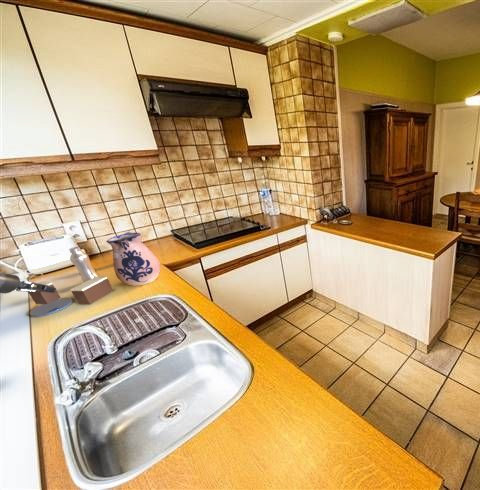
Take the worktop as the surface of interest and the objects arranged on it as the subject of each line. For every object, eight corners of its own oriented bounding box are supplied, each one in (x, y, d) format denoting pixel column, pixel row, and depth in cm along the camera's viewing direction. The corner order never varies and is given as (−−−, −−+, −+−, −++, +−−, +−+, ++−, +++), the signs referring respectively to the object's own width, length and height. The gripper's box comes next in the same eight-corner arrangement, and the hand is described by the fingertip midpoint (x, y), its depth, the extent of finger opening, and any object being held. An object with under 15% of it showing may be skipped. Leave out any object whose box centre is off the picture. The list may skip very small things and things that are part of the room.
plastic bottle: (93, 285, 136) (74, 250, 128) (80, 286, 136) (60, 251, 128) (105, 279, 142) (87, 245, 134) (92, 279, 142) (74, 245, 134)
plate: (26, 321, 111) (25, 319, 110) (35, 307, 120) (33, 305, 120) (70, 308, 118) (69, 306, 118) (75, 296, 127) (74, 294, 127)
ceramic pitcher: (122, 295, 126) (98, 247, 116) (122, 279, 141) (101, 235, 131) (166, 281, 136) (148, 236, 126) (162, 267, 151) (145, 226, 141)
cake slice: (47, 304, 115) (37, 288, 112) (36, 304, 116) (25, 288, 112) (61, 297, 120) (51, 282, 116) (49, 297, 120) (39, 282, 117)
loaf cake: (90, 304, 120) (81, 289, 117) (78, 304, 121) (69, 289, 117) (113, 290, 130) (106, 276, 127) (102, 290, 131) (95, 276, 127)
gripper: (15, 272, 102) (66, 282, 118) (-16, 272, 104) (38, 282, 120) (5, 291, 100) (58, 299, 115) (-27, 291, 101) (30, 298, 117)
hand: (48, 290), depth 117 cm, fingers closed on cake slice, 6 cm apart
